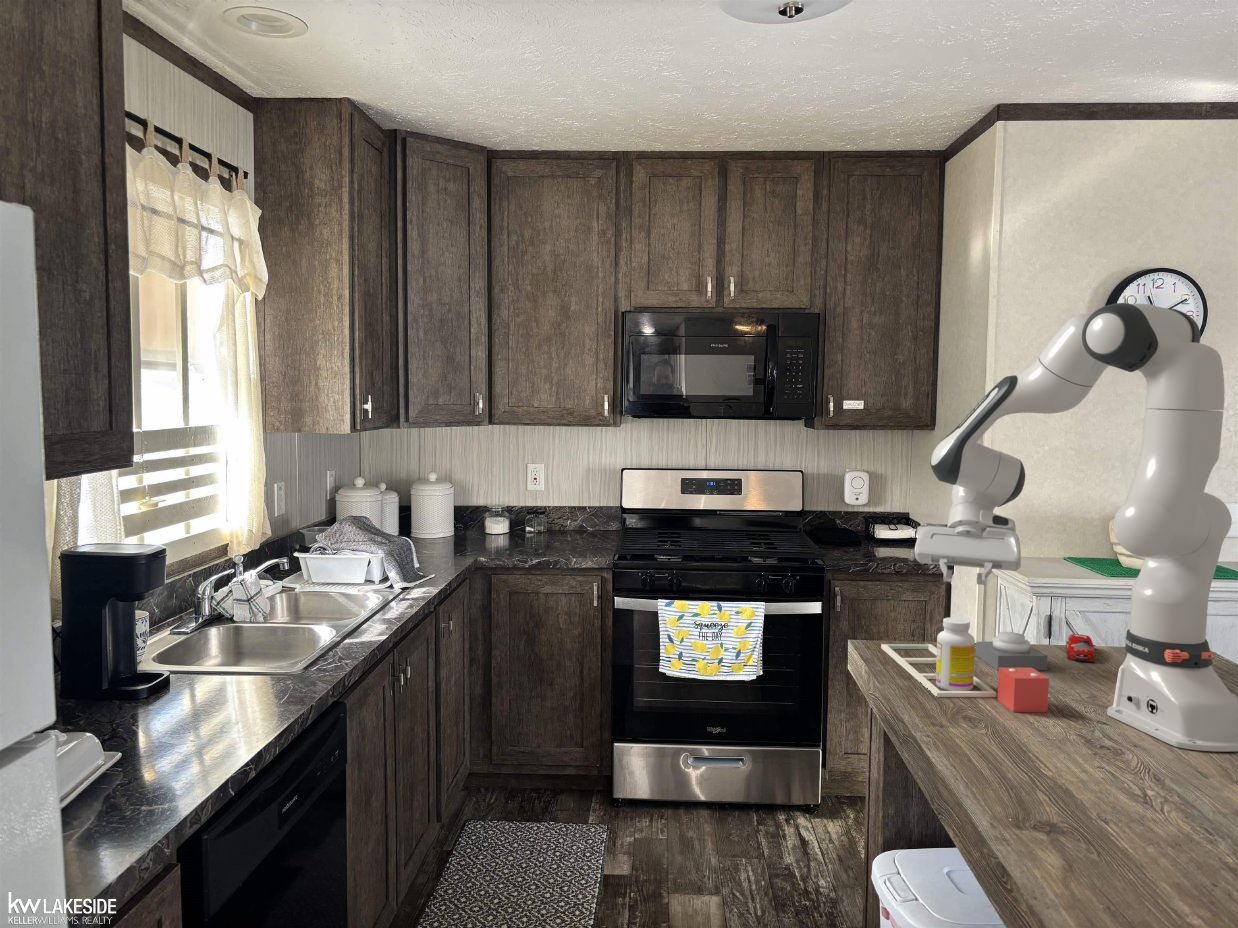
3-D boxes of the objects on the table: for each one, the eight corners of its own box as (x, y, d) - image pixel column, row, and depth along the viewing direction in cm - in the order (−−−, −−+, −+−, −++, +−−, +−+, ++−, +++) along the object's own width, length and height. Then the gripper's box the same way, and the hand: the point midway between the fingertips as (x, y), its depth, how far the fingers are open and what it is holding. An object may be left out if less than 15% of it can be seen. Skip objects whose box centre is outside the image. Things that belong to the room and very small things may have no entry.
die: (1047, 711, 151) (1049, 677, 150) (1013, 711, 151) (1014, 677, 150) (1030, 699, 157) (1031, 666, 156) (997, 699, 157) (998, 666, 156)
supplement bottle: (980, 689, 162) (983, 621, 161) (958, 695, 159) (961, 626, 158) (950, 679, 168) (952, 614, 167) (927, 685, 164) (930, 618, 163)
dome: (1036, 653, 175) (1036, 639, 175) (1002, 653, 175) (1002, 639, 175) (1019, 643, 182) (1020, 630, 182) (986, 643, 182) (987, 630, 182)
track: (996, 696, 158) (996, 692, 158) (936, 696, 158) (936, 692, 158) (931, 647, 189) (931, 644, 189) (881, 647, 189) (881, 644, 189)
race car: (1095, 666, 178) (1096, 647, 178) (1065, 662, 181) (1066, 643, 180) (1093, 649, 190) (1094, 631, 189) (1066, 645, 192) (1066, 628, 192)
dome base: (1046, 670, 174) (1047, 655, 174) (997, 670, 174) (998, 655, 173) (1022, 655, 184) (1023, 641, 184) (975, 655, 184) (976, 641, 183)
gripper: (916, 513, 183) (908, 567, 175) (1023, 520, 174) (1019, 577, 166) (918, 531, 188) (910, 584, 180) (1022, 539, 179) (1018, 595, 171)
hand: (963, 581), depth 173 cm, fingers open, 5 cm apart
